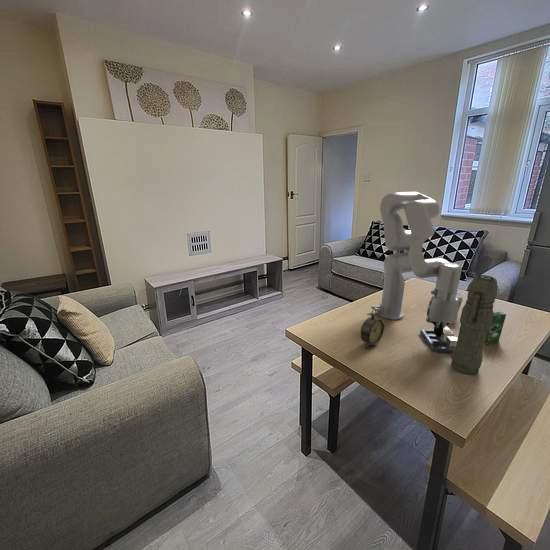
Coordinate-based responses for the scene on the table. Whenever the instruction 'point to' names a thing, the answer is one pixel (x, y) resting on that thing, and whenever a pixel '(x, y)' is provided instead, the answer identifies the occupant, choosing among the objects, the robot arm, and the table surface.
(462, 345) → the thermos
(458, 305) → the coffee cup
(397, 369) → the table surface
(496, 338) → the coffee box
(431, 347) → the panel
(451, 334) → the block
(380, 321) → the alarm clock
